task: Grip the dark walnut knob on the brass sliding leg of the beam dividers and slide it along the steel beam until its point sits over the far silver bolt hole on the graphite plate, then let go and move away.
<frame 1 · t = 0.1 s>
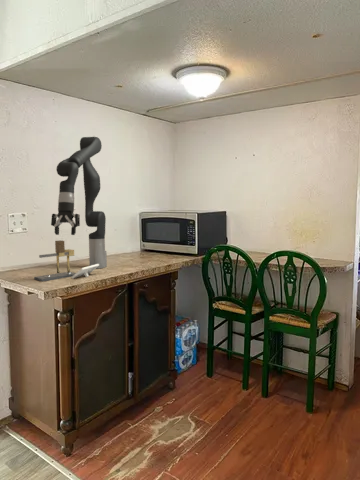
hand: (64, 234, 184), 22 cm above the table, tool pointing down, fingers open, 8 cm apart
light switch: (85, 277, 195), on the table
sliding leg: (59, 257, 190), point 11 cm above the table, slide at 6.0 cm
bolt plate: (56, 277, 191), on the table
dividers frame: (68, 275, 197), resting on bolt plate
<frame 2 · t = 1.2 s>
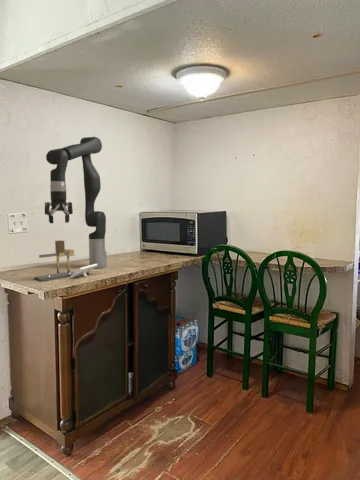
hand: (59, 223, 188), 28 cm above the table, tool pointing down, fingers open, 8 cm apart
light switch: (84, 276, 195), on the table
everything else where it was.
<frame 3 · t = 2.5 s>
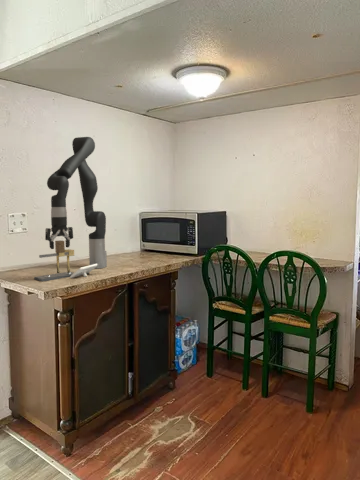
hand: (59, 248, 189), 15 cm above the table, tool pointing down, fingers open, 8 cm apart
nothing on the table moved.
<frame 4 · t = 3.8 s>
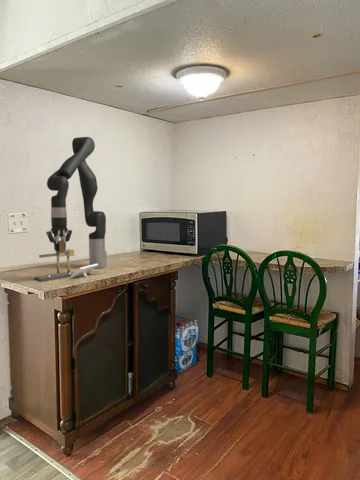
hand: (60, 250, 189), 14 cm above the table, tool pointing down, fingers closed on sliding leg, 3 cm apart
sliding leg: (59, 257, 190), point 11 cm above the table, slide at 6.0 cm, touching gripper
everything else where it was.
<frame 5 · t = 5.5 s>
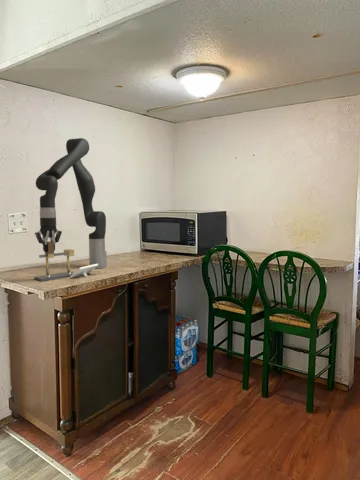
hand: (49, 251, 185), 14 cm above the table, tool pointing down, fingers closed on sliding leg, 3 cm apart
sliding leg: (48, 258, 185), point 11 cm above the table, slide at 11.9 cm, touching gripper
everything else where it was.
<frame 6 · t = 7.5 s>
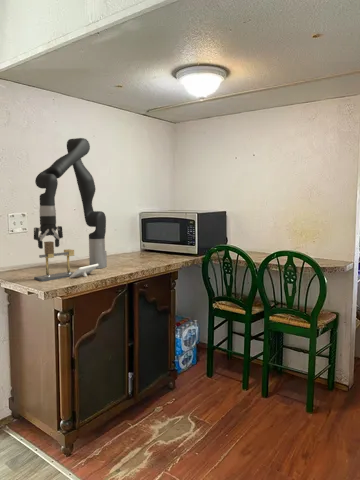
hand: (49, 247, 184), 16 cm above the table, tool pointing down, fingers open, 8 cm apart
light switch: (84, 276, 195), on the table, touching bolt plate
sliding leg: (48, 258, 185), point 11 cm above the table, slide at 12.0 cm
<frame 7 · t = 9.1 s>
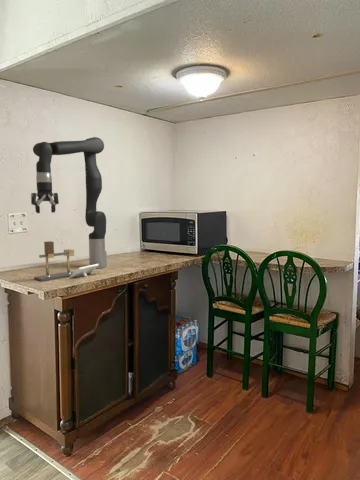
hand: (45, 212, 195), 33 cm above the table, tool pointing down, fingers open, 8 cm apart
light switch: (84, 276, 196), on the table
everything else where it was.
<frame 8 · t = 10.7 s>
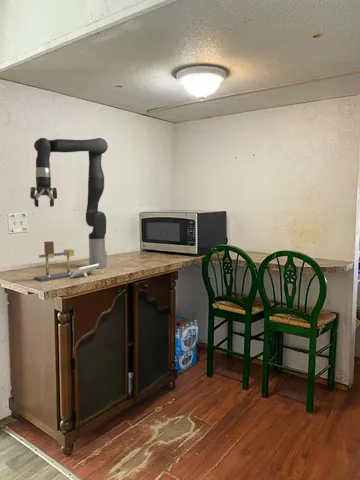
hand: (44, 206, 202), 36 cm above the table, tool pointing down, fingers open, 8 cm apart
nothing on the table moved.
at the end: sliding leg slide at 12.0 cm; the gripper is holding nothing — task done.
